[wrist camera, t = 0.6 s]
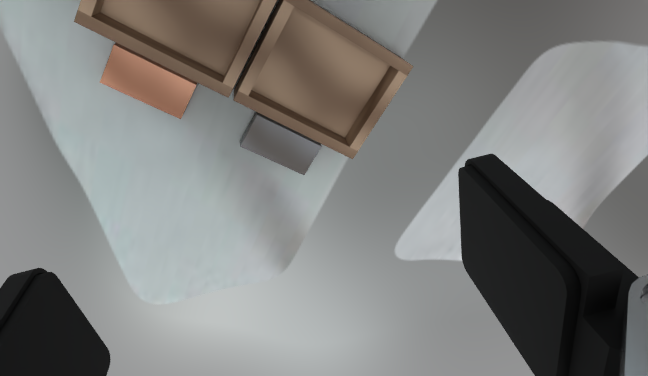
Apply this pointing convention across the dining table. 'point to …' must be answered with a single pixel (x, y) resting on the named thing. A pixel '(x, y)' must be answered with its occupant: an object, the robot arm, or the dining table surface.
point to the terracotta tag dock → (175, 45)
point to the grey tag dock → (314, 86)
